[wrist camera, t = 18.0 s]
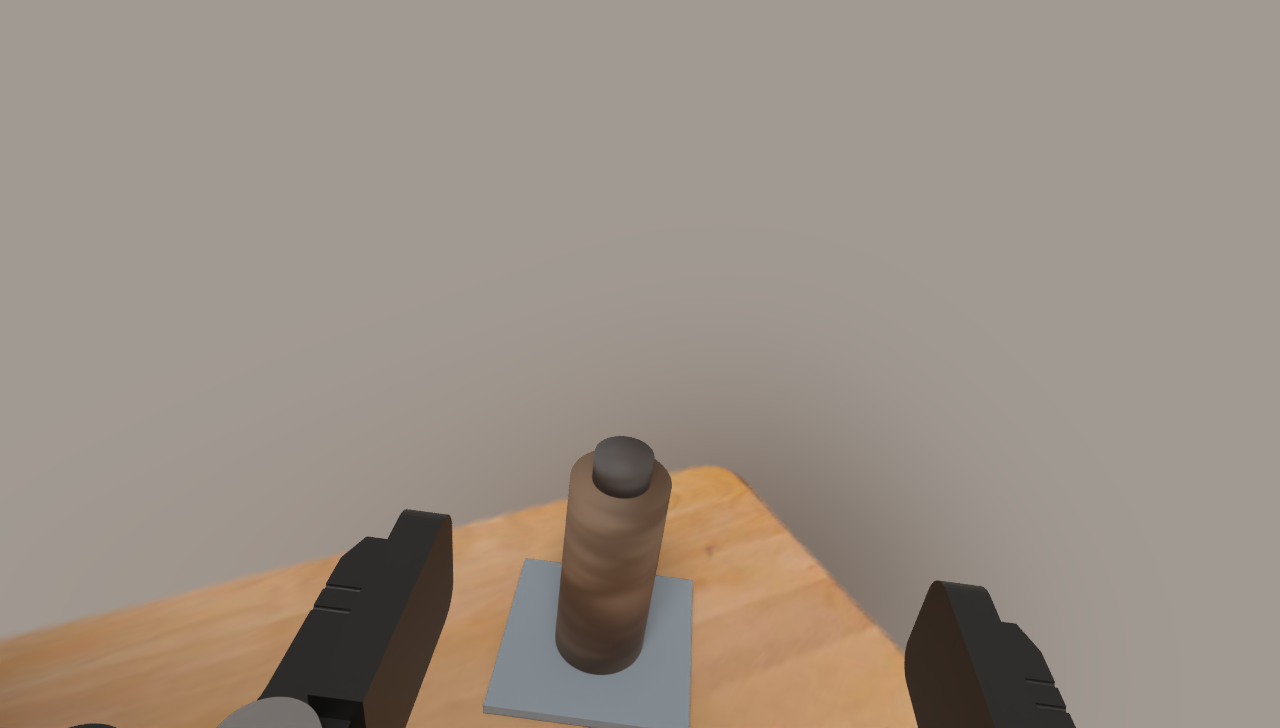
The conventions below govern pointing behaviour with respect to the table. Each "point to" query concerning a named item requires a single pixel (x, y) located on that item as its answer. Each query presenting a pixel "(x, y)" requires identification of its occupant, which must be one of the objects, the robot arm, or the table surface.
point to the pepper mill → (610, 554)
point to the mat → (557, 692)
